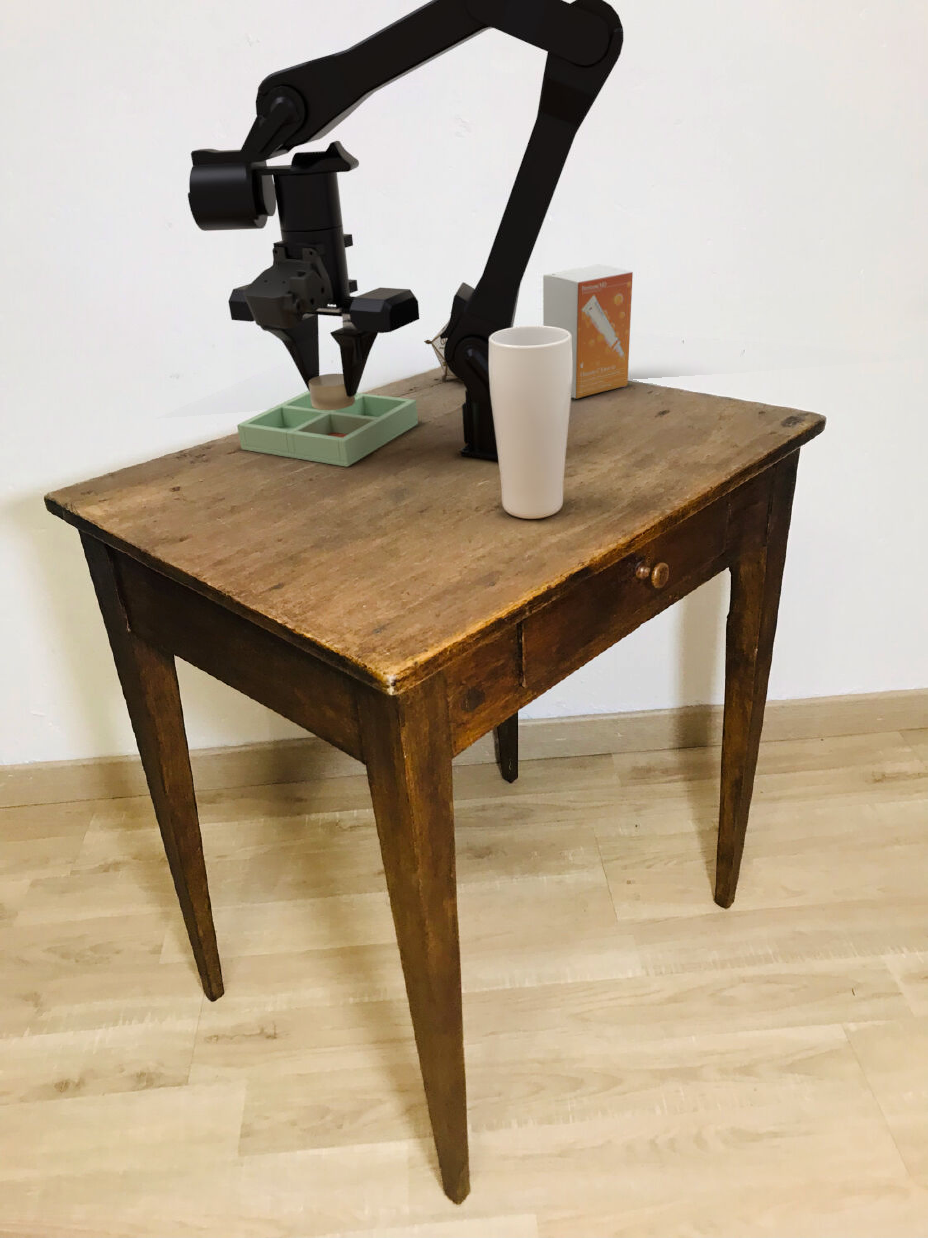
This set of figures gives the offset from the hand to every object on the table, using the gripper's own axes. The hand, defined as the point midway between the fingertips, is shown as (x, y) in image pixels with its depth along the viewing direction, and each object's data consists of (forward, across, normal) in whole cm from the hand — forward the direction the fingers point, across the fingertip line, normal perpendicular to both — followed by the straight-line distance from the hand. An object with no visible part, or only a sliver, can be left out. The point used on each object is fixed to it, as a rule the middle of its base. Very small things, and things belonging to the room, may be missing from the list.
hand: (332, 393), depth 95 cm
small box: (+6, +16, +28) cm, 33 cm away
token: (+1, 0, 0) cm, 1 cm away
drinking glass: (+6, +25, -6) cm, 26 cm away
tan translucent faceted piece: (+6, +1, +26) cm, 27 cm away
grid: (+6, -3, +3) cm, 8 cm away
